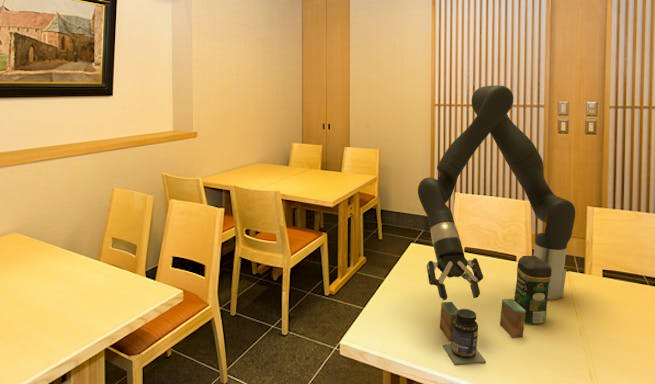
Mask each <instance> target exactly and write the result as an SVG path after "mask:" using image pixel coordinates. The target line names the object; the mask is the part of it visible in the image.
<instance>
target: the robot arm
mask: <svg viewBox="0 0 655 384" xmlns="http://www.w3.org/2000/svg"><path fill="white" fill-rule="evenodd" d="M513 104H514V95H513V92H512V91H511V89H510V88H509V87H507V86H504V85H497V84H496V85H485V86H480V87H479V88H477V89H476V90H475V91H474V92H473V94H472V96H471V107H472V109H473V112H474V113H475V115H476V116H475V118H474V120H473V121H472V122H471V123H470V125H469V126H467V128H466V129H465V130H464V131H463V132H462V133H461V134H460V135H459V136H458V137H457V138H456V139H455V140H454V141H453V142H452V143H451V144H450V145H449V147H447V150H446V151H445V153H444V154H443V155H442V157H441V158H440V160H439V161H438V163H437V166H436V169H437V172H438V174H439V175H438V177H437V179H436V178H434V177H429V176H428V177H426V178H425V177H424V178H423V179H422V180H421V181H420V182H419V184H418V186H417V195H418V199H419V201H420V204H421V206H422V208H423V211H424V212H425V214H426V216H427V220H428V224H429V228H430V237H431V244H432V245H433V250H434V254H435V257H436V261H433V260H429V261H428V262H427V264H426V272H427V279H428V283H429V285H430V286H436V287H437V288H436V289H437V290H438V291H437V292H438V296H439V298H440V299H441V300H442V301H446V300H447V299H448V293H447V289H446V285H445V283H444V282H445V280H446V278H449V279H450V278H454V277H455V278H460V277H461V278H462V279H463V280H466V281H467V282H468V283H469V284H470V286H469V287H470V289H471V290H470V291H471V293H472V297H473V299H478V298H479V296H480V294H481V291H480V286H479V282H481V281H482V280H483V279H484V274H483V272H482V268H481V266H480V263H479V259H478V258H473V259H469V260H467V259H466V257H465V252H464V249H463V246H462V245H463V244H462V242H461V239H460V237H461V236H460V234H459V231H458V228H457V226H456V224H455V220H454V215H453V212H452V209H450V208H449V206H448V205H447V202H448V201H449V200H450V199H451V197H452V195H453V193H454V189H455V187H456V184H457V182H458V179H459V176H460V175H461V174H462V172H463V170H464V168H466V165H467V164H468V162H469V161H470V160H471V158H472V156H473V155H474V153H475V152H476V150H477V149H478V148H479V147H480V146H481V144H482V143H483V142H484V141H485V139H486V138H487V137H488V136H489V135H491V137H492V138H493V140H494V143H495V144H496V146H497V148H498V149H499V151H500V152H501V154H502V156H503V158H504V160H505V162H506V163H507V165H508V167H509V169H510V170H511V172H512V173H513V175H514V176H515V178H516V180H517V182H518V184H520V187H521V188H522V189H523V191H524V192H525V195H526V197H527V199H528V201H529V204H530V206H531V209H532V211H533V212H534V216H535V217H536V218H537V219H539V220H540V221H541V222H543V223H545V228H544V231H543V232H540V233H537V234H536V235H535V240H534V241H535V242H534V249H533V256H536V257H538V258H539V259H541V260H543V261H544V262H546V263H547V264H548V265H549V266H550V267H551V269H552V271H551V279H550V282H549V287H548V297H547V301H548V300H551V301H553V300H554V301H555V300H558V299H560V298H563V297H564V291H565V284H566V277H567V269H566V268H565V263H566V257H567V256H566V255H567V248H568V243H569V242H570V241H571V238H572V235H573V230H574V226H575V219H576V207H575V205H574V204H573V202H571V200H567V199H565V198H562V197H560V196H557V195H555V193H554V192H553V190H552V189H551V188H550V186H549V185H548V184H547V181H546V179H545V175H544V173H545V172H544V171H545V169H544V161H543V158H542V155H541V154H540V153H539V151H538V148H537V147H536V146H535V143H534V142H533V141H532V140H531V139H530V138H529V137H528V136H527V135H526V134H525V132H523V131H522V129H520V128H519V127H518V126H517V125H515V123H514V122H513V121H512V120H511V118H510V117H509V115H508V113H509V112H510V110H511V109H512V107H513ZM468 266H469V268H470V269H471V270H472V271H471V270H470V269H469V268H468ZM437 269H438V270H439V271H440V272H441V274H440V276H439V277H438V279H437V277H436V270H437ZM559 297H560V298H559Z"/></svg>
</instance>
